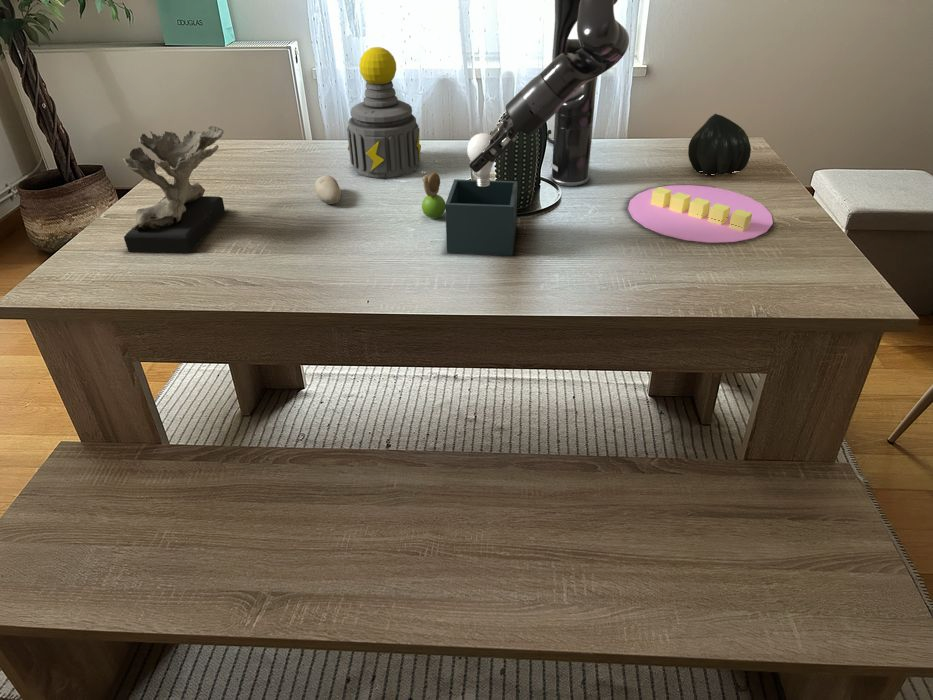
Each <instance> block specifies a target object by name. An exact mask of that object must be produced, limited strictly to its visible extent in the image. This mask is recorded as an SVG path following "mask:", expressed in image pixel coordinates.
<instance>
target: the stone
mask: <svg viewBox="0 0 933 700" xmlns="http://www.w3.org/2000/svg"><path fill="white" fill-rule="evenodd" d="M314 190H315V193H316V196H317V197H318V198H319V200H321V201H322V202H324V203H326V204H328V205H329V204H331V205H332V204H336V203H338V202H339V201H340V200H341V195H342V192H341V188H340V185H339V183H338V181H337V179H335V178H334V176H332V175H328V174H326V175H322V176H320V177H319V178H317V179H316V181H315V183H314Z"/></svg>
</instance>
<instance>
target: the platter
mask: <svg viewBox="0 0 933 700" xmlns="http://www.w3.org/2000/svg"><path fill="white" fill-rule="evenodd" d="M627 211H628V212H629V214H630V216H631V218H632V219H633V220H634V221H636V222H637V223H638V224H640V225H641V226H642V227H644V228H645V229H648V230H650V231H653V232H654V233H657V234H659V235H662V236H665V237H669V238H674V239H678V240H682V241H688V242H696V243H697V242H698V243H706V244H722V243H723V244H726V243H738V242H743V241H747V240H753V239H755V238H757V237H760V236H761V235H764V234H765V233H767V232H768V231H769V230H770V228H771V227H772V226H773V224H774V220H773V214H772V212H770V210H768V208H766V206H765V205H764V204H762V203H760V202H758V201H756V200H755V199H753V198H751V197H750V196H747V195H745V194H741V193H738V192H735V191H732V190H728V189H723V188H717V187H713V186H705V185H695V184H693V185H692V184H677V185H675V184H673V185H665V186H659V187H652V188H649V189H647V190H644V191H641V192H639V193H637V194H635V196H633V197H632V198H631V199H629V204H628V208H627ZM707 211H708V212H707ZM706 212H707V213H706ZM697 214H698V215H697ZM703 214H704V215H703ZM701 215H702V216H701ZM708 217H709V218H708ZM726 217H728V218H726ZM711 218H713V219H711ZM725 218H726V219H725ZM714 219H716V220H714ZM724 219H725V220H724ZM718 220H720V221H718ZM722 220H723V221H722ZM721 221H722V222H721ZM729 223H730V224H729ZM749 223H750V224H749ZM731 224H734V225H731ZM747 224H749V225H747ZM735 225H737V226H735ZM746 225H747V226H746ZM738 226H740V227H738ZM745 226H746V227H745ZM741 227H744V228H741Z"/></svg>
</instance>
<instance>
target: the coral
mask: <svg viewBox="0 0 933 700" xmlns="http://www.w3.org/2000/svg"><path fill="white" fill-rule="evenodd" d="M207 129H208V130H207V131H195V130H190V129H189V130H188V131H187V134H185V135H184V136H183V138H182V141H181V140H180V138H179V137H180V136H179V135H177V133H175V132H173V131H164V132H163V133H162V134H156V133H153V131H151V130H150V131H149V133H150V136H151V137H149V136H148V135H146V133H141V136H139V138H138V142H139V143H140V145H142V146H143V147H144V148H146V149H148V150H150V151H151V152H152V153H153V154H154V155H155V156H156V157H157V159H152V158H151V157H150V156H149V155H148V153H145V151H144V150H143V148H142V147H140V146H138V147H134V148H131V149H130V150H129V154H127V156H128V157H129V158H125V157H123V159H122V160H123V162H124V164H125V165H126V166H127V167H128V168H129V169H130V170H131V171H132V172H134V173H136V174H137V175H139V176H140V177H141V178H143V179H144V180H146V181H149V182H151V183H153V184H155V185H156V186H158V187H159V188H160V189H161V190H162V192H163V194H164V197H163V198H161V200H160V201H159V202H158V203H156V204H154V205H152V206H149V207H142V208H138V209H137V210H136V212H135V221H136V222H135V225H134V226H133V227H132V228H131V229H130V230H128V232H127V233H126V234H125V235H124V236H123V240H124V243H125V246H126V248H127V252H129V253H166V254H167V253H169V254H170V253H172V254H191V253H192V252H193V251H194V250H195V248H196V247H197V246H198V245H199V243H200V242H201V241H202V240H203V238H204V237H206V235H207V234H208V232H209V231H210V230H211V229H212V228H213V226H215V224H216V223H217V222H218V220H219V219H221V217H222V216H223V214H225V212H226V209H225V204H224V199H223V197H222V196H219V195H217V196H215V195H214V196H212V195H211V196H210V195H205V192H206V189H205V188H204V187H203V186H202V185H201V183H199V182H194V183H193V184H191V183H190V177H191V175H192V173H193V171H194V170H195V169H197V168H198V167H199V165H200V164H202V162H203V161H204V160H206V159H207V158H210V157H211V156H213V155H214V154H215V153H216V152H217V151H218V149H219V145H218V144H216V145H214V146H213V147H212V148H209V147H210V146H212V145H213V144H215V143H216V142H217V141H218V140H219V139H221V138H222V137H223V134H225V133H224V132H225V131H224V129H222V128H220V127H217V126H215V125H210V126H208V127H207ZM207 148H208V149H207ZM155 164H156V165H157V166H159V168H161V169H162V170H164V172H165V173H166V174H167V175H168V176H170V177H172V178H173V182H171V183H170V182H168V180H167V179H166V178H165V177H164V176H163V175H161V174H158V173H157V170H156V165H155Z"/></svg>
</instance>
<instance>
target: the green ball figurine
mask: <svg viewBox="0 0 933 700" xmlns="http://www.w3.org/2000/svg"><path fill="white" fill-rule="evenodd" d="M427 173H428V172H427V171H423V170H422V171H421V174H422V175H423V176H422V182H423V189H424V192H425V194H426V196H424V198H423V200H422V202H421V210H422V212H423V214H424V215H425V216H426V217H427V218H429V219H438V218H440V217H441V216H443V215H444V213H446V209H445V204H446V201H445V199H444V198H443V197H442V196H441V195H440V194H438V193H439V191H440V185H441V177H440V175H439V173H438V172H431V173H430V174H429V176H427Z"/></svg>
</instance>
